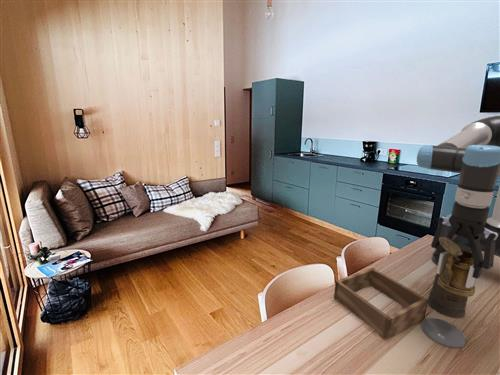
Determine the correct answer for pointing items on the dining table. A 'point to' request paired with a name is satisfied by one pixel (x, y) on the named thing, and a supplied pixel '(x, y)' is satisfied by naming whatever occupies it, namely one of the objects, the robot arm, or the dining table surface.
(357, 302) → the wooden frame
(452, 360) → the dining table surface
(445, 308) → the beer stein
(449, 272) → the wooden mug
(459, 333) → the coaster
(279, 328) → the dining table surface
